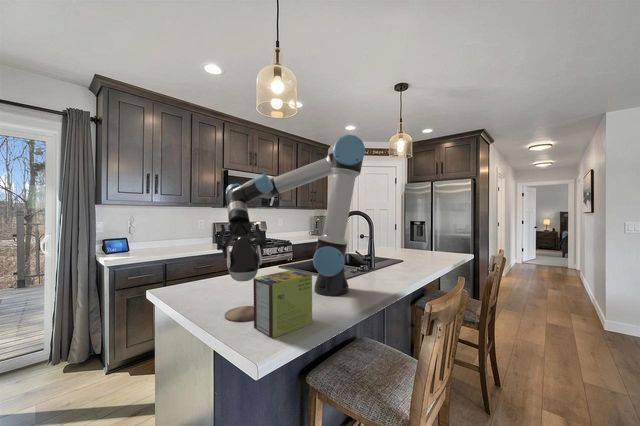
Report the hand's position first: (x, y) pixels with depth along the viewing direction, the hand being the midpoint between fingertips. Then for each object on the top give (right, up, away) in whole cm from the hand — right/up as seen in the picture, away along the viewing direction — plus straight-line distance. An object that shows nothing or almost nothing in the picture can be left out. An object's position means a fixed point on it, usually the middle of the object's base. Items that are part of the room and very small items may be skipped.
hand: (245, 263), depth 92 cm
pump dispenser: (-1, -6, +3) cm, 7 cm away
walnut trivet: (-1, -18, +3) cm, 18 cm away
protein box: (+14, -18, -6) cm, 24 cm away
